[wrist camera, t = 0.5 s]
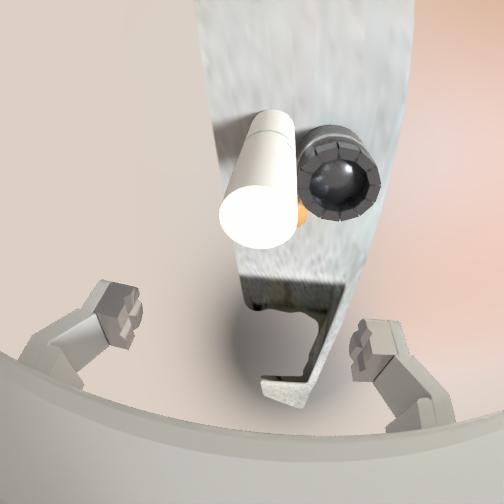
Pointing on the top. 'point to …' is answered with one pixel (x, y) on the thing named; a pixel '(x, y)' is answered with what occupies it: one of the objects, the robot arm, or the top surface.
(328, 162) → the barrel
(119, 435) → the robot arm
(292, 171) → the cylindrical container
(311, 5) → the top surface
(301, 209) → the cap
